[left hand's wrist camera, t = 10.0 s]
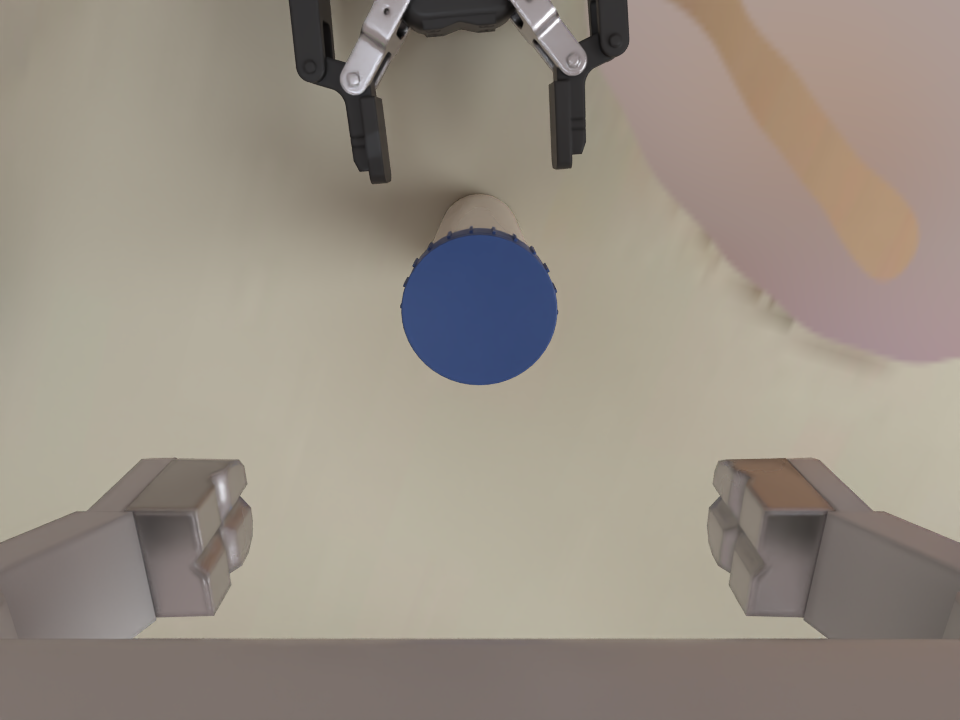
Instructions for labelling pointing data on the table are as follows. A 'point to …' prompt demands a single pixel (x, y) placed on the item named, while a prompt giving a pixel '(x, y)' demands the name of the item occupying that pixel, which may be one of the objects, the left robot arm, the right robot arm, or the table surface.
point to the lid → (479, 306)
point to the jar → (479, 216)
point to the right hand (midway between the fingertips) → (472, 175)
